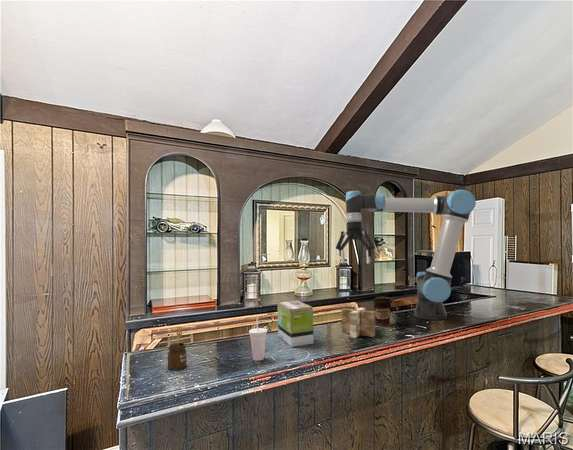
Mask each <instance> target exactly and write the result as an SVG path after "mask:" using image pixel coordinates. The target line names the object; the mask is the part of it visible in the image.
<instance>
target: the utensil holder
mask: <svg viewBox="0 0 573 450" xmlns="http://www.w3.org/2000/svg"><path fill="white" fill-rule="evenodd" d="M182 330H183V326H178V327H177V330H176V333H175V334H173V335H171V344H169V346H168V352H167V368H168V369H169V370H173V371H174V370H176V371H177V370H180V369H181V370H182V369H183V368H185V367H186V366H187V361H188V360H187V350H186V344H185V343H184V342H181V341H180V338H181V337H182V335H183V331H182ZM174 336H175V339H177V342H175V340H173V338H174ZM172 341H173V342H172Z"/></svg>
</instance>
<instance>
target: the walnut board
mask: <svg viewBox="0 0 573 450" xmlns="http://www.w3.org/2000/svg"><path fill="white" fill-rule="evenodd" d="M354 310H356V309H354V308H342V309H341V331H342V333H343V334H345V333H346V334H350V318H349V313H350V312H352V311H354ZM359 324H360V336H363V337H365V336H366V337H371V338H372V337H373V338H374V337H375V336H376V318H375V310H367V309H366V310H362V311H361V322H360V323H359Z"/></svg>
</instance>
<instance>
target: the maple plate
mask: <svg viewBox="0 0 573 450" xmlns="http://www.w3.org/2000/svg"><path fill="white" fill-rule="evenodd" d="M362 310H366V311H367V308H366V307H362V306H361V307H358V308H356V309H355V310H354V311H352V312H350V313H349V318H350V333H349V338H351V339H352V338H353V339H357V338H358V337H360V336H361V335H360V324H359V323H360V322H361V311H362Z"/></svg>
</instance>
